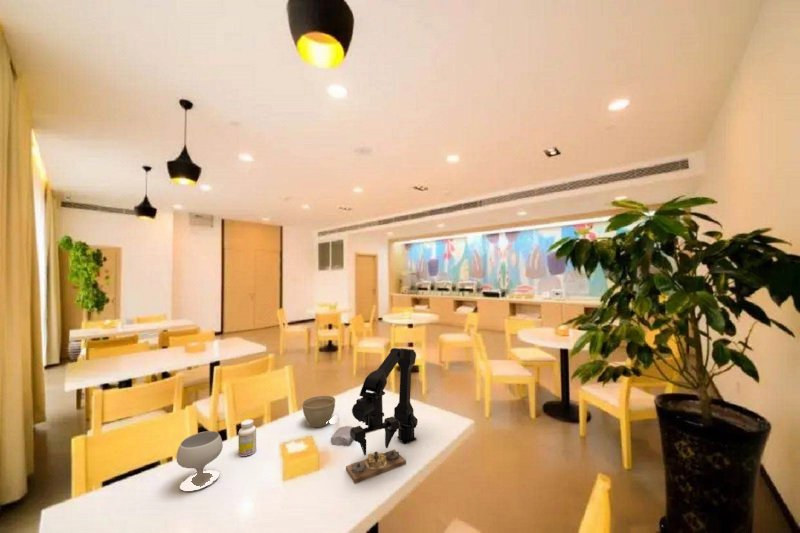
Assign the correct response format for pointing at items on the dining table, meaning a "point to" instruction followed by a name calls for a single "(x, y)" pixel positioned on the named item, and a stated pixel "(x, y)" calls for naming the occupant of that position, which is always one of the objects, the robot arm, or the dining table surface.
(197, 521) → the dining table surface
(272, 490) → the dining table surface
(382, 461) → the wooden gear
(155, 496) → the dining table surface
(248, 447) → the supplement bottle
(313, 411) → the planter bowl
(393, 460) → the gear board
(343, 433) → the stone block
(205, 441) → the chalice
